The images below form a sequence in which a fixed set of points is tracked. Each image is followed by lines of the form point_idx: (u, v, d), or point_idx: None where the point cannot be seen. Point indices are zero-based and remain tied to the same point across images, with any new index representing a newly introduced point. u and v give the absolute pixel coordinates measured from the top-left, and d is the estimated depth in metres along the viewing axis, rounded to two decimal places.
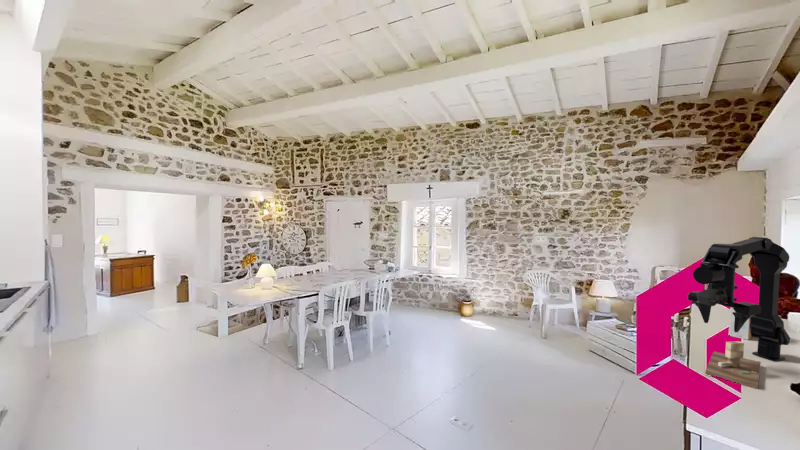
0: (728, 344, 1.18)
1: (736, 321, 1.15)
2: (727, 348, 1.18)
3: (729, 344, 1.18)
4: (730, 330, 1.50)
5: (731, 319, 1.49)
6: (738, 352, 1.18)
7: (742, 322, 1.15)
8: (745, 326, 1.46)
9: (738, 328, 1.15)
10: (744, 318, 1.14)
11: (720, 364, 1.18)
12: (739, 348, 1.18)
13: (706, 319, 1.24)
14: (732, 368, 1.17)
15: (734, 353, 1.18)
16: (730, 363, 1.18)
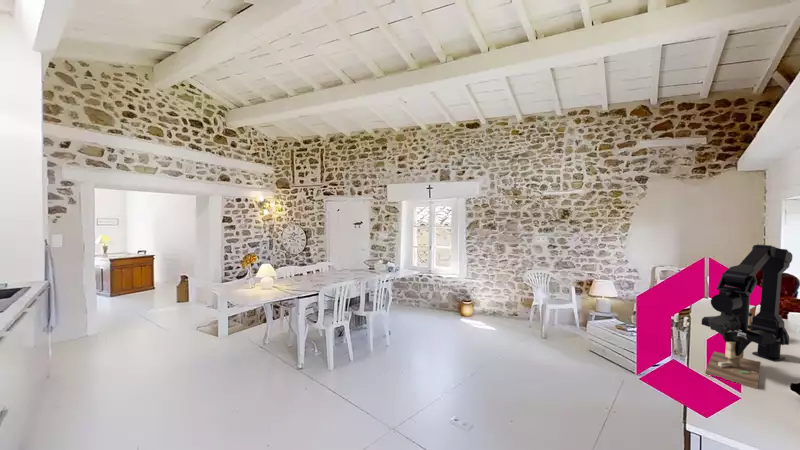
0: (728, 344, 1.18)
1: (737, 345, 1.16)
2: (727, 348, 1.18)
3: (729, 344, 1.18)
4: None
5: None
6: None
7: (743, 346, 1.16)
8: None
9: (739, 352, 1.17)
10: (745, 342, 1.16)
11: (720, 364, 1.18)
12: None
13: None
14: (732, 368, 1.17)
15: (734, 353, 1.18)
16: (730, 363, 1.18)
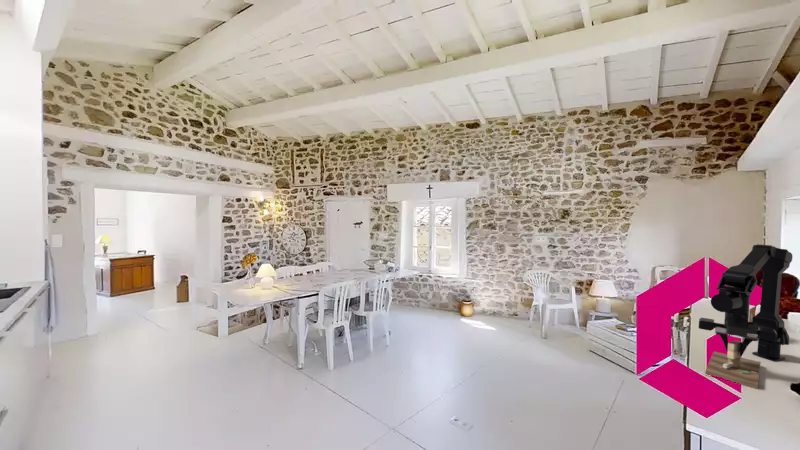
0: (730, 345, 1.17)
1: (744, 345, 1.16)
2: (729, 349, 1.18)
3: (732, 345, 1.17)
4: None
5: None
6: (738, 352, 1.18)
7: None
8: None
9: None
10: None
11: (725, 366, 1.16)
12: (739, 348, 1.18)
13: None
14: (732, 368, 1.17)
15: (735, 353, 1.17)
16: (732, 364, 1.18)
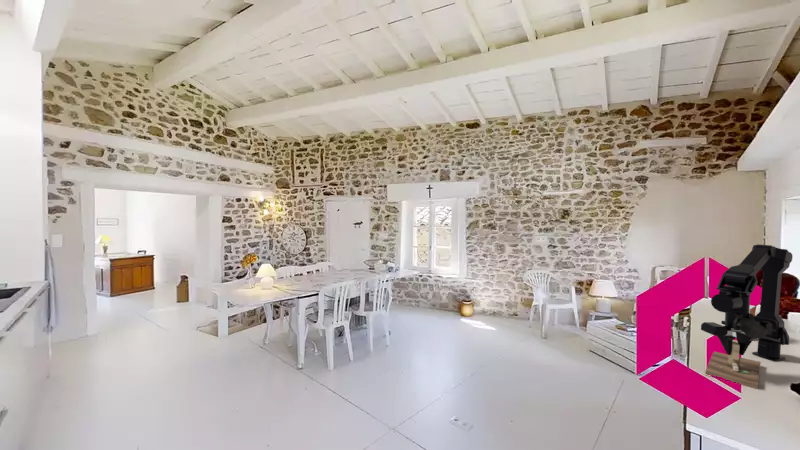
0: (736, 346, 1.16)
1: (747, 344, 1.17)
2: (734, 350, 1.17)
3: (737, 346, 1.16)
4: None
5: None
6: None
7: None
8: None
9: None
10: None
11: (737, 369, 1.14)
12: None
13: None
14: (732, 368, 1.17)
15: None
16: (736, 364, 1.17)
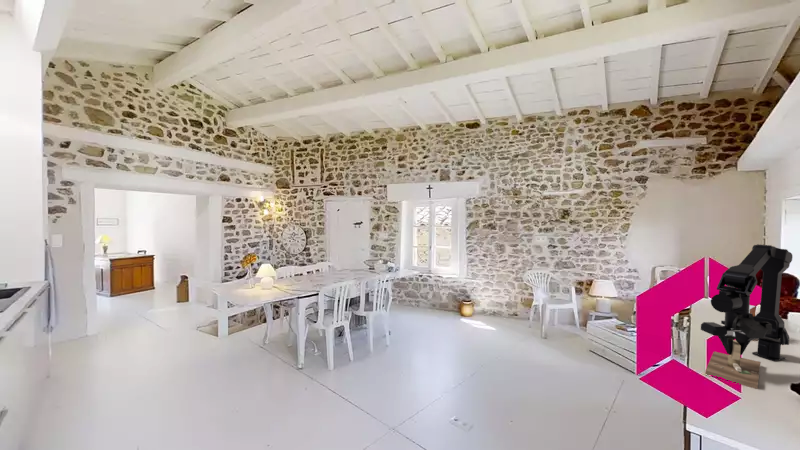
0: (737, 346, 1.16)
1: (746, 344, 1.17)
2: (736, 350, 1.16)
3: (738, 346, 1.16)
4: None
5: None
6: None
7: None
8: None
9: None
10: None
11: (740, 369, 1.14)
12: None
13: None
14: (732, 368, 1.17)
15: None
16: None
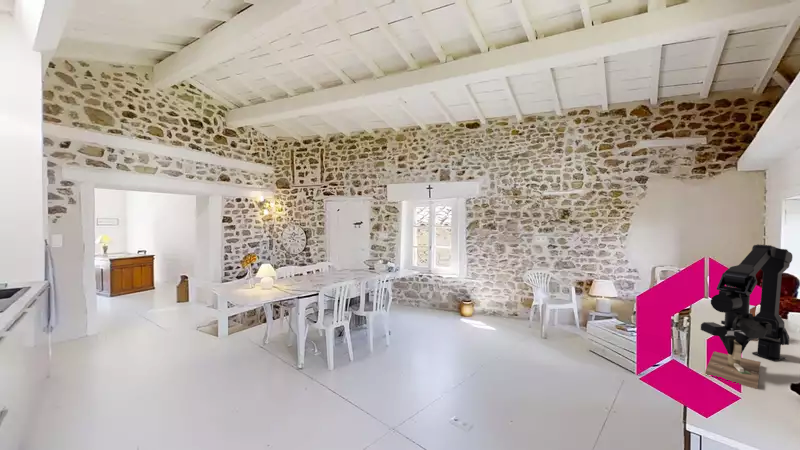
0: (738, 346, 1.16)
1: (745, 344, 1.17)
2: (737, 351, 1.16)
3: (739, 346, 1.16)
4: None
5: None
6: None
7: None
8: None
9: None
10: None
11: (742, 370, 1.14)
12: None
13: None
14: (732, 368, 1.17)
15: None
16: None
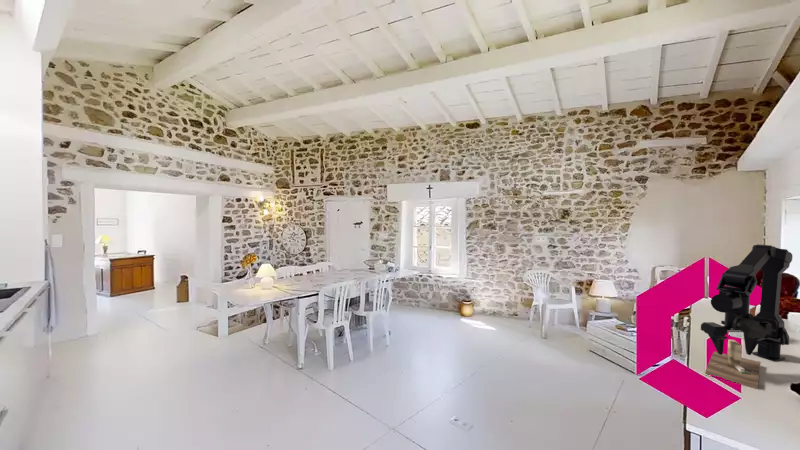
0: (738, 346, 1.16)
1: (755, 344, 1.17)
2: (737, 351, 1.16)
3: (740, 346, 1.16)
4: None
5: None
6: None
7: None
8: None
9: None
10: None
11: (743, 370, 1.13)
12: None
13: None
14: (732, 368, 1.17)
15: None
16: None
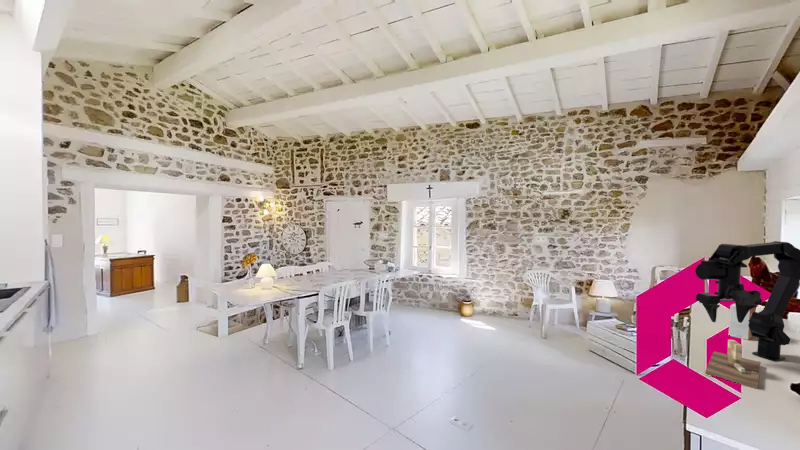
0: (739, 346, 1.16)
1: (745, 312, 1.27)
2: (737, 351, 1.16)
3: (740, 346, 1.16)
4: (730, 330, 1.50)
5: (731, 319, 1.49)
6: None
7: None
8: (745, 326, 1.46)
9: None
10: None
11: (744, 370, 1.13)
12: None
13: None
14: (732, 368, 1.17)
15: None
16: None
